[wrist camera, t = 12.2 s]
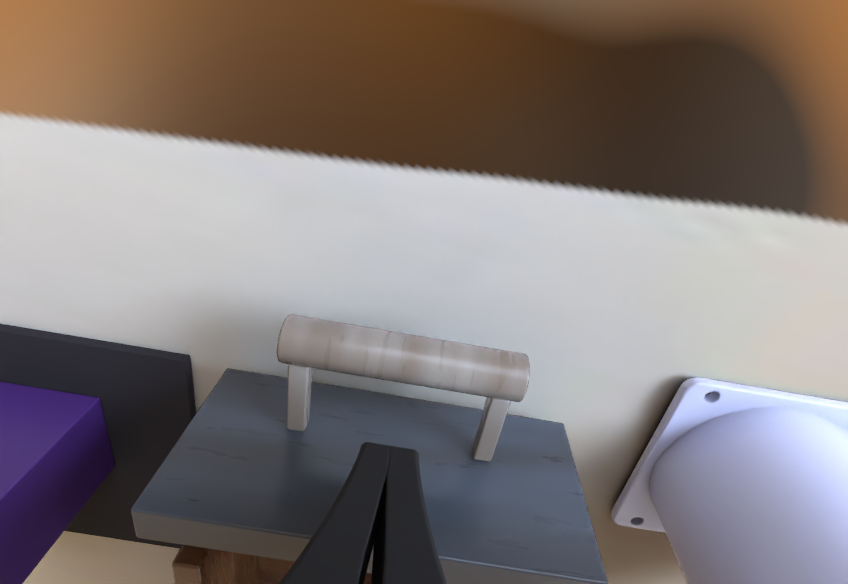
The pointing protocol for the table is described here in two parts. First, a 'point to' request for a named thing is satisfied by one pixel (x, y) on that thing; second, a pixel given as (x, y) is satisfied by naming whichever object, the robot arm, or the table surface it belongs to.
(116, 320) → the table surface
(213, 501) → the drawer
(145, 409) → the mat
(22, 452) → the snack box
